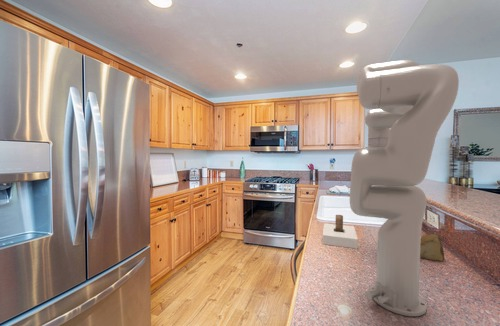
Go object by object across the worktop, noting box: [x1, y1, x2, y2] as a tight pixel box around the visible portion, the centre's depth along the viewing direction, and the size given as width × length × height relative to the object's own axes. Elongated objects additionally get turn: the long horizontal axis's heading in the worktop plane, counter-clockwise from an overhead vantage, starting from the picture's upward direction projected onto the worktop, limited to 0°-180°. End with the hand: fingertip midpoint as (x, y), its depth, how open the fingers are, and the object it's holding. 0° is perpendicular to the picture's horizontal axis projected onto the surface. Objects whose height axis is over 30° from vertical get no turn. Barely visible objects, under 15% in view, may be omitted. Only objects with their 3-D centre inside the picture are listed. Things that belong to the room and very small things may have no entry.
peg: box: [335, 214, 344, 232], centre depth 102 cm, size 3×3×11 cm
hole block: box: [321, 222, 359, 250], centre depth 102 cm, size 18×14×4 cm
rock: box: [420, 233, 445, 262], centre depth 84 cm, size 11×9×10 cm
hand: (377, 185), depth 88 cm, fingers open, 9 cm apart
